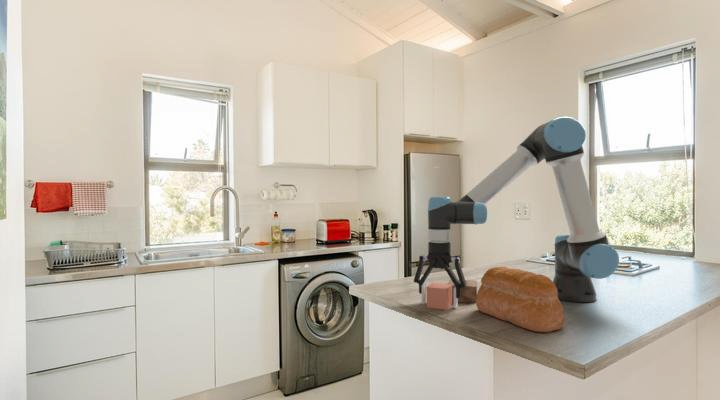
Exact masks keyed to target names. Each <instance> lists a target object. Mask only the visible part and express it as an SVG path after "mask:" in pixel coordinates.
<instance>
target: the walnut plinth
mask: <svg viewBox="0 0 720 400" xmlns="http://www.w3.org/2000/svg"><path fill="white" fill-rule="evenodd" d="M458 281H459V279H458ZM465 281H466V286H465V287H463V288H461V296H460V298H458V302H459V303H469V304H470V303H473V304H476V298H477V293H478V280H473V279H465ZM459 283H460V281H459ZM447 284H450V285H452V302H454V288H455V285H454V283H453V282H452V280H451V278H449V281H448V283H447Z"/></svg>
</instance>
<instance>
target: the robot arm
mask: <svg viewBox="0 0 720 400" xmlns="http://www.w3.org/2000/svg"><path fill="white" fill-rule="evenodd" d="M585 140H586V129H585V127H584V126H583V124H582V123H581V122H580V121H579V120H577V119H575V118H574V117H570V116H561V117H557V118H554V119H550V120H549V121H547V122H545V123H543V124H541V125H539V126H537V127H536V128H535V129H534V130H533V131H532V132H531V133H530V134H529V135H528V136H527V137H526V138H524V140H523V141H522V142H521V143H520V144H518V145H517V147H516V151H515V152H514V153H512V154H511V155H510V156H509V157H507V158H506V159H505V160H504V161H502V163H500V164H499V165H498V166H497V167H496V168H495V169H494V170H493V171H492V172H490V173H489V174H488V175H487V176H486V177H485V178H483V179H482V180H481V181H480V182H479V183H478V184H476V185H475V186H474V187H473V188H472V189H470V190H469V191H468V192H467V193H465V195H464V196H463V197H461V199H459V200H458V201H455V202H454V201H451V197H449V196H431V197H429V199H428V206H427V207H428V209H427V219H428V222H427V224H428V228H427V229H428V230H427V231H428V237H427V238H428V244H427V245H428V246H427V247H428V248H427V249H428V252H427V253H428V254H427V255H425V254H421V255H419V257H418V258H419V262H418V265H417V269H416V273H415V275H414V279H413V282H414V283H416V284H418V293H419V295H421V304H422V305H425V303H426V304H427V284H426V283H425V281H427V279H428V277H429V276H430V274H431V272H432V270H434V269H440V270H444V271H445V272H446V273H447V276H449V279H451V280H452V282H453V283H454V285H455V288H454V301H453V309H457V308H458V307H459V305H458V304H459V303H458V298H460V296H461V288H463V287H465V286H466V281H465V280H466V279H465V275H464V273H463V268H462V266H461V258H460V257H458V256H457V257H453V256H452V254H451V242H450V241H451V226H452V225H484V224H485V223H487V220H488V209H487V204H488V203H490V201H491V200H493V199H494V198H495V197H496V196H497V195H498V194H500V193H501V192H502V191H503V190H504V189H506V188H507V187H508V186H509V185H510V184H512V182H514V181H515V180H516V179H518V178H519V177H520V176H521V175H522V174H523V173H524V172H526V171H527V170H528V169H529V168H530V167H531V166H537V165H538V164H540V163H541V162H542V161H543V160H544V161H545V163H546V164H547V165H549V166H551V168H552V171H553V174H554V178H555V181H556V185H557V189H558V193H559V197H560V200H561V204H562V207H563V211H564V216H565V219H566V223H567V226H568V230H569V234H564V235H563V234H560V235H556V236H555V239H554V276H553V279H552V282H553V283H554V284H555V286H556V288H557V290H558V295H557V297H558V299H559V301H567V302H575V303H591V302H592V303H593V302H596V301H597V292H596V289H595V286H594V284H593V280H592V278H593V279H598V280H599V279H600V280H601V279H606V278H608V277H610V276H611V275H613V274H614V273H615V271H616V270H617V269H618V267H619V264H620V256H619V254H618V251H617V250H616V248H614V247H613V246H611V245H610V244H609V240H608V237H607V234H606V232H603V231H602V230H601V229H600V227H599V224H598V221H597V216H596V213H595V209H594V206H593V202H592V198H591V195H590V191H589V186H588V183H587V179H586V176H585V172H584V168H583V165H582V161H581V160H582V157H583V156H584V155H585V150H584V148H583V145H584V142H585ZM426 261H428V262H429V265H428V266H427V268H426V270H425V272H424V273H423V275H422V272H423V269H424V266H425V262H426ZM451 262H452V263H453V265H454V268H455V271H456V274H455V272H454V270H453V269H452V267H451V265H450V263H451ZM421 275H422V276H421ZM458 280H459V281H460V283H459V281H458Z"/></svg>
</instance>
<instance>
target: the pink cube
mask: <svg viewBox="0 0 720 400" xmlns="http://www.w3.org/2000/svg"><path fill="white" fill-rule="evenodd" d="M452 306H453V301H452V285H450V284H448V283H439V282H432V283H429V284H428V285H426V308H431V309H439V310H446V311H447V310H448V309H449V308H450V307H452Z"/></svg>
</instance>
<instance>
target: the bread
mask: <svg viewBox="0 0 720 400" xmlns="http://www.w3.org/2000/svg"><path fill="white" fill-rule="evenodd" d="M480 279H481V280H480V282H481V285H480V286H479V288H478V289H477V298H476V303H475V305H476V307H477V310H479V311H480V312H481V313H483V314H486V315H489V316H492V317H494V318H496V319H499V320H501V321H504V322H510V323H512V324H513V325H515V326H517V327H520V328H523V329H526V330H528V331H531V332H535V333H550V332H554V331H558V330H560V329H562V328H563V327H564V324H565V317H564V307H563V304H562V303H561V300H560V299H558V297H557V295H558V290H557V288H556V286H555V284H554V283H553V279H551V278H550V277H548V276H546V275H543V274H540V273H538V274H537V273H535V272H531V271H528V270H522V269H517V268H516V269H515V268H509V267H506V266H495V267H491V268H489V269H488V270H486V272H485V273H484V274H483V275H482V278H480Z"/></svg>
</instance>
